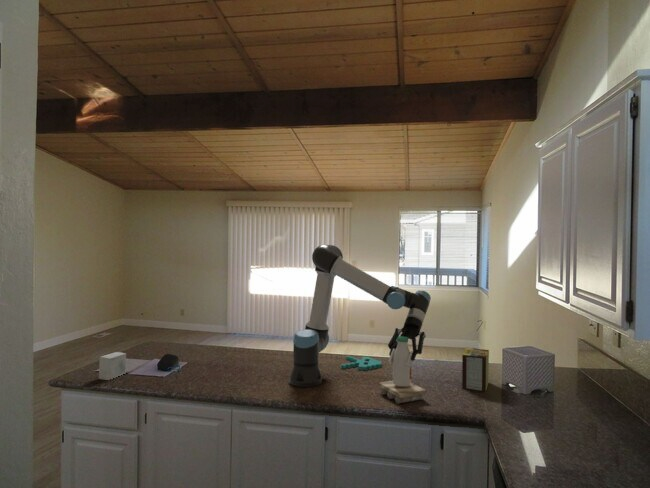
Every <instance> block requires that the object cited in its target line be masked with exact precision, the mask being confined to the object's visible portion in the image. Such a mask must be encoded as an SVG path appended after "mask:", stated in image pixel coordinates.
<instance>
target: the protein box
mask: <svg viewBox="0 0 650 488" xmlns="http://www.w3.org/2000/svg"><path fill="white" fill-rule="evenodd" d="M461 355H462V363H461V365H462V366H461V367H462V370H461V371H462V372H461V376H462V377H461V379H462V380H461V385H462V387H461V388H462V389H463V390H471V391H472V390H473V391H479V392H484V391H485V392H487V389H488V385H489V367H490V365H489V364H490V363H489V361H490V360H489V359H490V357H489V356H490V350H489V349H483V348H472V347H465V350H464V351H463V353H462V354H461ZM485 392H484V393H485Z"/></svg>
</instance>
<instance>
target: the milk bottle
mask: <svg viewBox="0 0 650 488" xmlns="http://www.w3.org/2000/svg"><path fill="white" fill-rule="evenodd" d="M396 341H397V342H398V344H397V348H396V350H395V352H394V356H393V363H392V381H393V384H394V385H397V386H402V387H406V386H410V385H411V383H412V365H411V366H410V368H408V367H407V365H406V364H407V361H408V358H409V355H410V352H411V350H410V349H409V345H408V343H409V339H408V337H404V336H400V335H399V337H397V340H396Z"/></svg>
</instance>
